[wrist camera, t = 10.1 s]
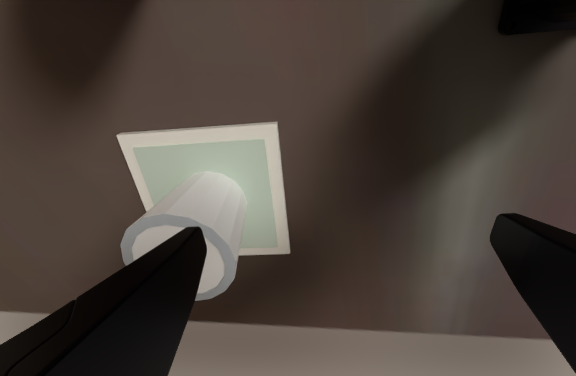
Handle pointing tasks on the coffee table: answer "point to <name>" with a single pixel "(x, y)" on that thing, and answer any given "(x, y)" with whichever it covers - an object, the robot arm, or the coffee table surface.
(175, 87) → the coffee table surface
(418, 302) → the coffee table surface
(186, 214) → the white-topped cylinder
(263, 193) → the plate
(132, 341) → the robot arm
